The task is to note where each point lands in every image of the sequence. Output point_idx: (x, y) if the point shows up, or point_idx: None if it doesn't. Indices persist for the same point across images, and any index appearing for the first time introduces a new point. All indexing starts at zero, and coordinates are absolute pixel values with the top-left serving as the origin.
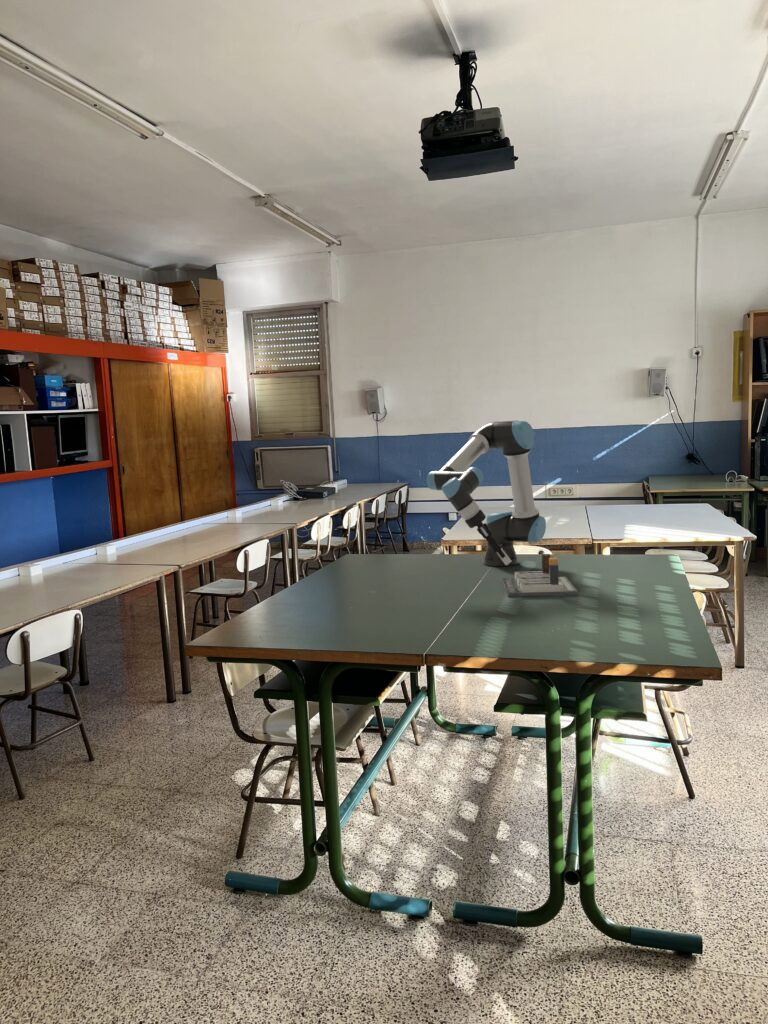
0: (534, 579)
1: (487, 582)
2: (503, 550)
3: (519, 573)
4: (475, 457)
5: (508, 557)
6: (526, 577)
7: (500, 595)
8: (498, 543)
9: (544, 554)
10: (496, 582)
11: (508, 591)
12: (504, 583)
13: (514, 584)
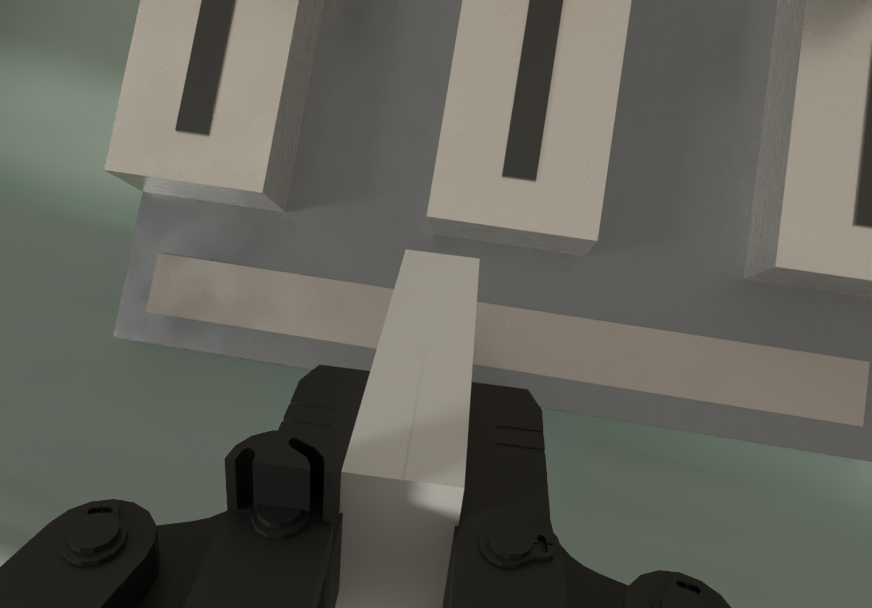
0: (620, 45)
1: (75, 498)
2: (460, 427)
3: (217, 136)
4: None
5: (475, 311)
6: (479, 110)
7: (743, 514)
8: (119, 538)
9: None
10: (108, 399)
11: (818, 437)
12: None
13: None
